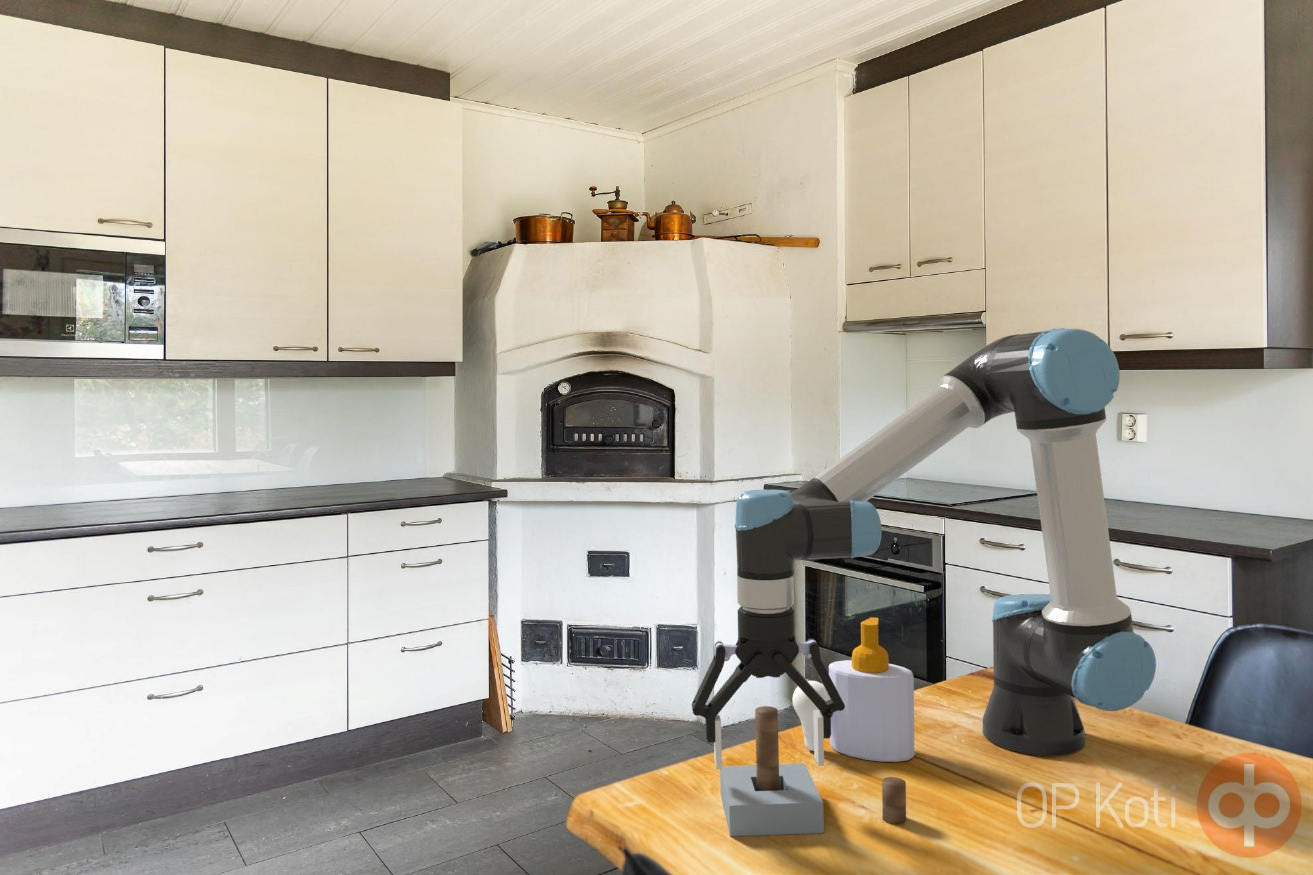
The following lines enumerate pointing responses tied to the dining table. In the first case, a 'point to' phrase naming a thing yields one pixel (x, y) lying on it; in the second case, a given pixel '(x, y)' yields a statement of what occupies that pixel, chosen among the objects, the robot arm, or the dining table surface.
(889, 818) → the short pin
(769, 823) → the collar block
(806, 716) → the lightbulb
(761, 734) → the long pin
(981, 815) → the dining table surface
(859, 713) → the soap bottle
